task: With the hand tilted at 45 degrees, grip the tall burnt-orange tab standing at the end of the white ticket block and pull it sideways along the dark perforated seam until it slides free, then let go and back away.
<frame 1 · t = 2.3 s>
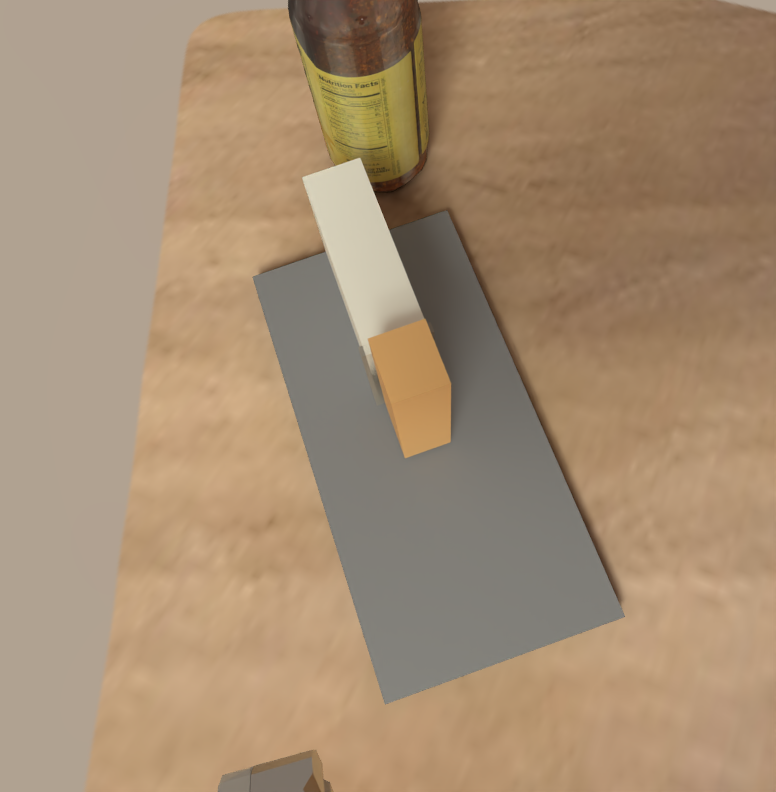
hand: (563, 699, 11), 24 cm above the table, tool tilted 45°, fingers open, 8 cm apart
ticket stub: (413, 396, 32), point 6 cm above the table, slide at 0.0 cm
ticket block: (408, 402, 38), on the table
sauce bottle: (379, 160, 44), on the table
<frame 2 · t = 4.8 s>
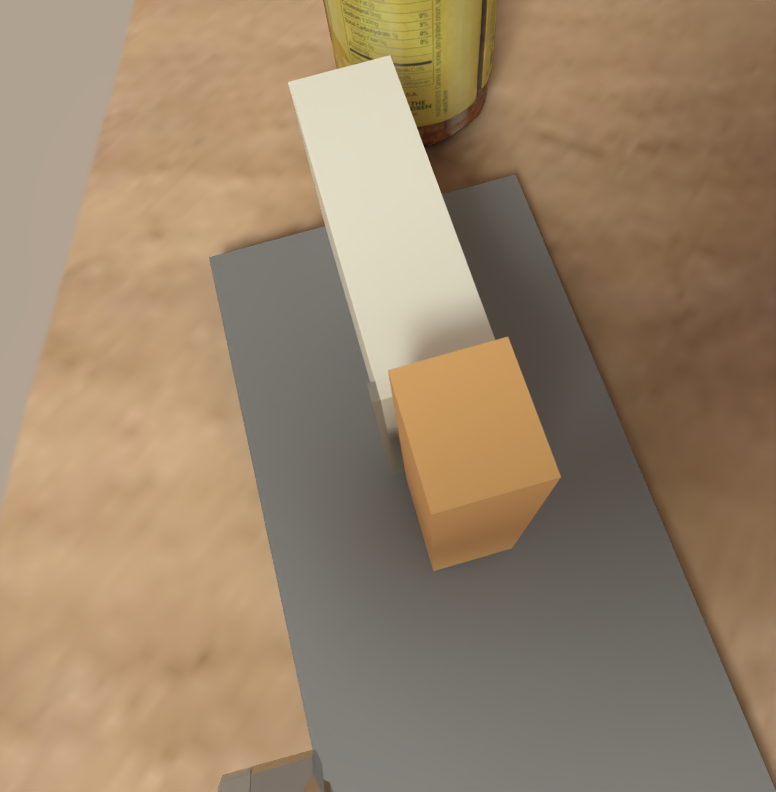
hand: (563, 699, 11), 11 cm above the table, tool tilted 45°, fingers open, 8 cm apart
ticket stub: (462, 478, 18), point 6 cm above the table, slide at 0.0 cm
ticket block: (440, 471, 24), on the table
sauce bottle: (413, 102, 30), on the table
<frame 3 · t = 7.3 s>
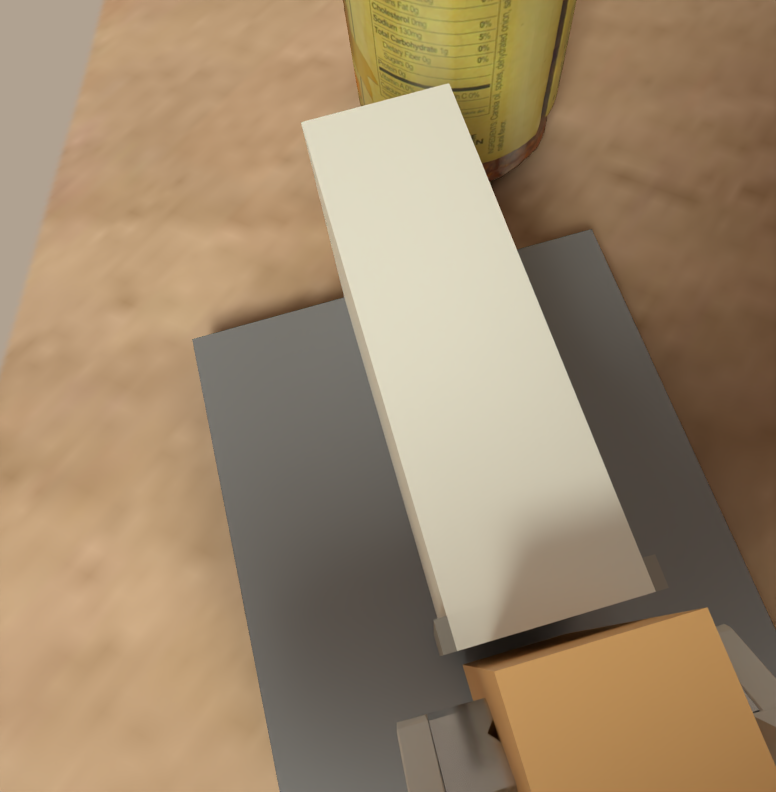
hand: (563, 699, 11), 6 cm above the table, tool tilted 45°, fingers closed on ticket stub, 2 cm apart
ticket stub: (573, 739, 11), point 6 cm above the table, slide at 0.0 cm, touching gripper
ticket block: (503, 637, 18), on the table
sauce bottle: (452, 131, 24), on the table
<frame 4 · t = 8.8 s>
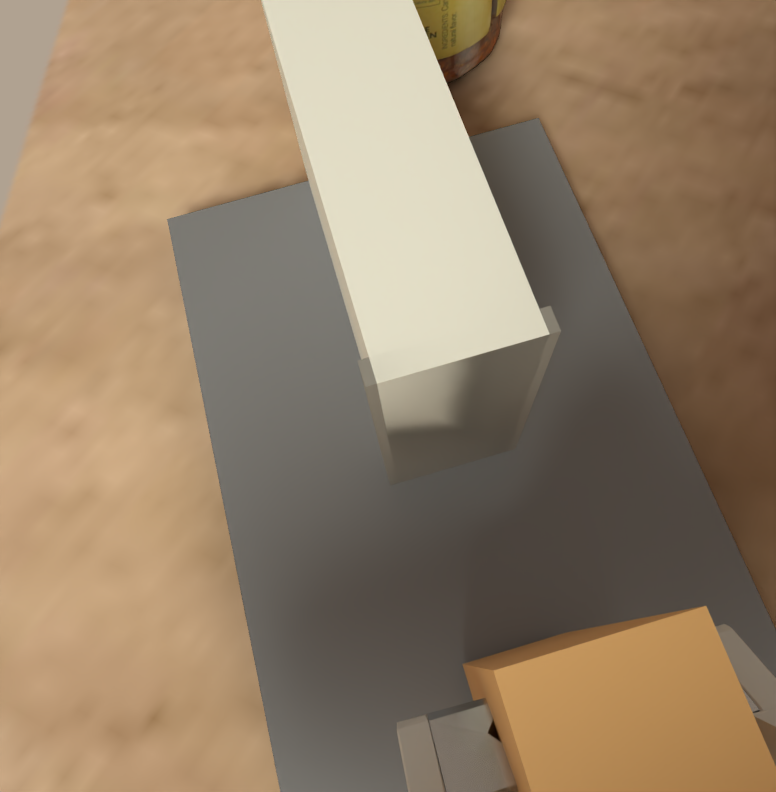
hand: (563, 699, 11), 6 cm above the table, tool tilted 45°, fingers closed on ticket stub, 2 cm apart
ticket stub: (573, 738, 11), point 6 cm above the table, slide at 4.3 cm, touching gripper
ticket block: (451, 478, 19), on the table
sauce bottle: (414, 41, 25), on the table
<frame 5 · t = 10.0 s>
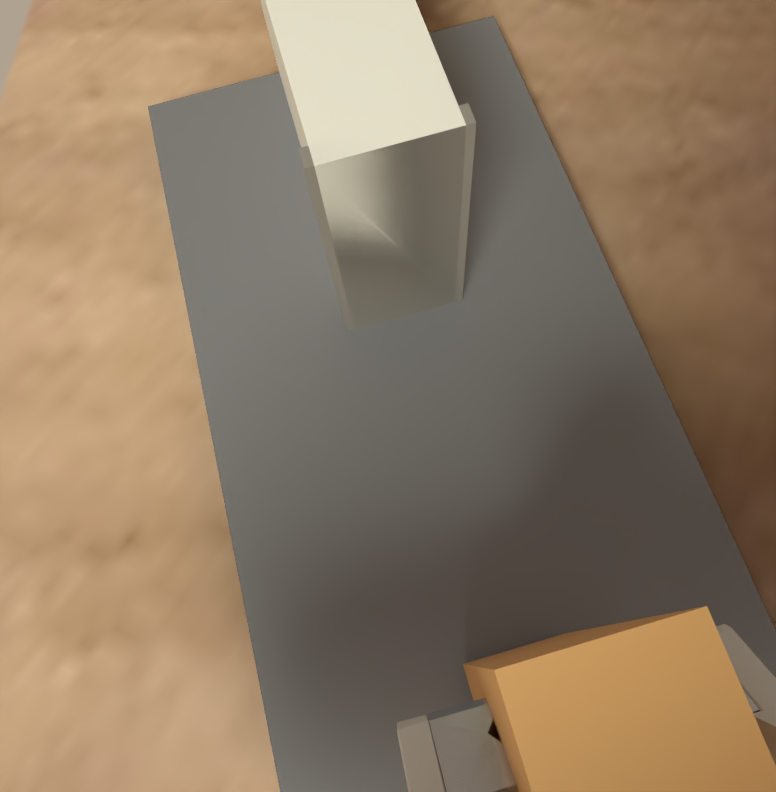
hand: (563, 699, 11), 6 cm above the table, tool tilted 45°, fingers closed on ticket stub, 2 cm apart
ticket stub: (574, 738, 11), point 6 cm above the table, slide at 8.9 cm, touching gripper
ticket block: (406, 334, 21), on the table
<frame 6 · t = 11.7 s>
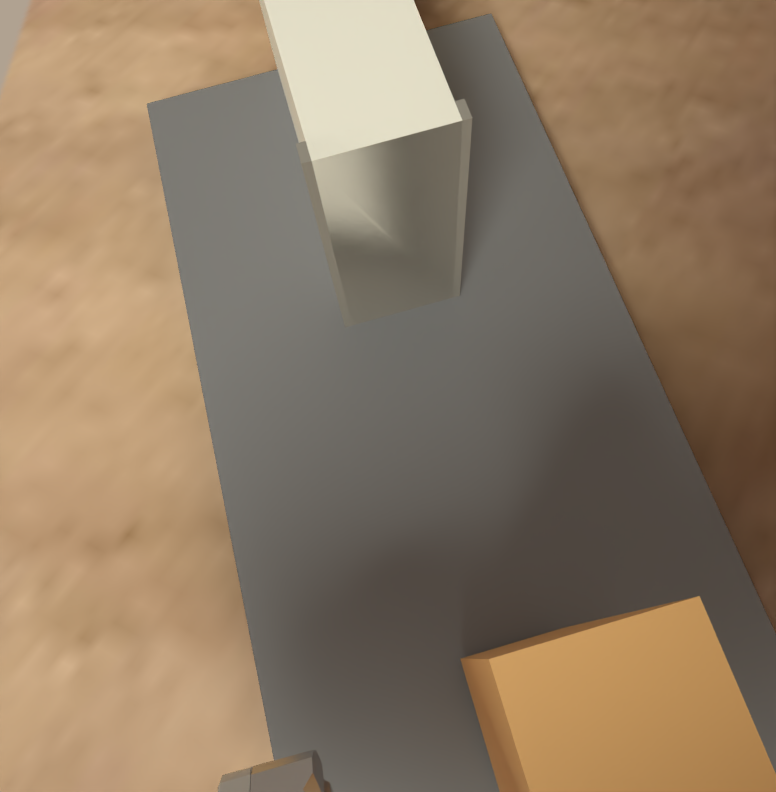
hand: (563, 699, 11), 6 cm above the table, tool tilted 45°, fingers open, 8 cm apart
ticket stub: (569, 730, 11), point 6 cm above the table, slide at 9.0 cm
ticket block: (404, 330, 21), on the table
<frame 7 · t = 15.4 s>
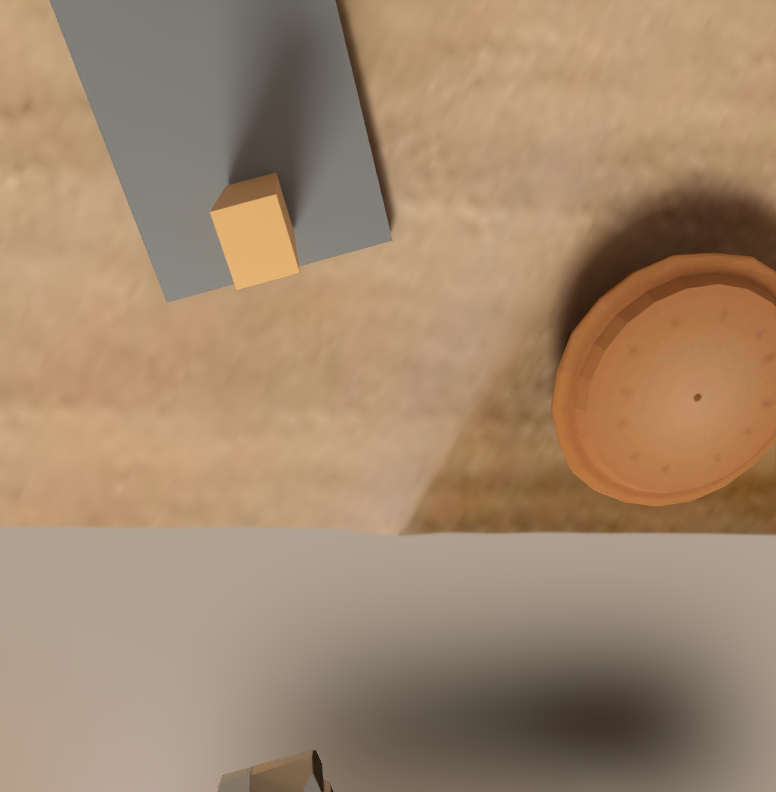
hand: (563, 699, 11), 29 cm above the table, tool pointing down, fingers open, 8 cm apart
ticket stub: (258, 224, 30), point 6 cm above the table, slide at 9.0 cm
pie: (651, 365, 43), on the table
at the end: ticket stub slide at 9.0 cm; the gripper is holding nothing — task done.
